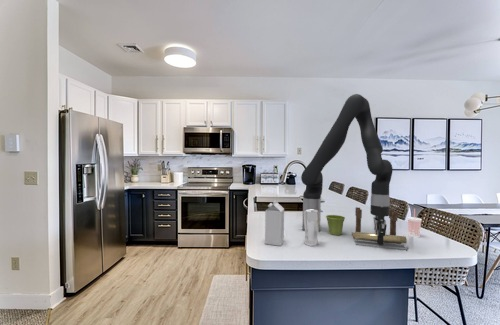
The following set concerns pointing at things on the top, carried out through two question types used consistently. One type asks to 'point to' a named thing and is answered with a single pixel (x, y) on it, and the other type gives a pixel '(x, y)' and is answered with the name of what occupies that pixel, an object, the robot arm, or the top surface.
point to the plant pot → (335, 224)
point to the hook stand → (393, 219)
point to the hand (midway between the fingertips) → (379, 242)
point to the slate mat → (385, 245)
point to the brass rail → (385, 238)
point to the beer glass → (311, 226)
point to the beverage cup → (414, 226)
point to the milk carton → (274, 224)
